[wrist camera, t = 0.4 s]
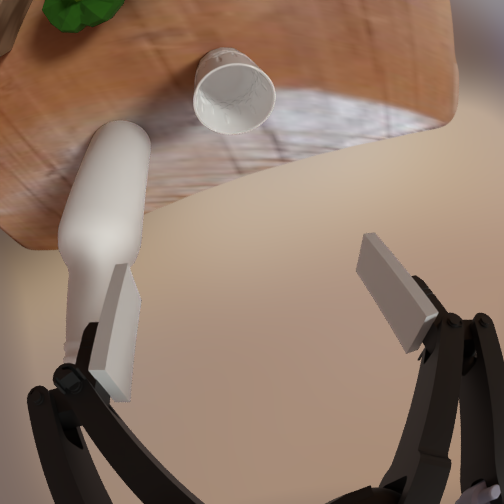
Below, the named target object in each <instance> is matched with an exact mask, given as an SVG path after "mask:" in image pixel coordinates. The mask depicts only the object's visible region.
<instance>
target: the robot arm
mask: <svg viewBox="0 0 504 504" xmlns="http://www.w3.org/2000/svg"><path fill="white" fill-rule="evenodd" d="M356 272H357V274H358V275H359V276H360V278H361V280H362V281H363V283H364V284H365V286H366V288H367V289H368V291H369V292H370V294H371V295H372V297H373V299H374V300H375V302H376V303H377V305H378V306H379V308H380V310H381V311H382V313H383V315H384V316H385V318H386V320H387V321H388V323H389V324H390V326H391V328H392V330H393V331H394V333H395V335H396V337H397V338H398V340H399V342H400V344H401V345H402V347H403V349H404V350H405V352H406V354H407V353H409V352H412V351H415V350H418V349H419V347H420V345H421V343H422V342H423V344H424V345H425V348H424V350H423V351H422V353H421V354H420V356H419V358H418V360H420V359H421V357H422V360H421V365H420V370H419V375H418V379H417V383H416V387H415V391H414V395H413V399H412V403H411V407H410V410H409V414H408V417H407V421H406V424H405V427H404V430H403V434H402V437H401V440H400V443H399V446H398V449H397V451H396V455H395V457H394V460H393V462H392V465H391V467H390V468H389V470H388V471H387V473H386V474H385V475H384V477H383V479H382V481H381V483H380V485H379V487H378V488H371V486H367V487H365V488H362V489H360V490H357V491H354V492H351V493H348V494H345V495H343V496H341V497H338V498H336V499H333V500H332V501H329V502H328V503H326V504H440V501H441V498H442V495H443V492H444V489H445V486H446V483H447V480H448V476H449V473H450V469H451V460H450V459H449V458H448V451H449V447H450V443H451V438H452V433H453V429H454V424H455V419H456V413H457V406H458V400H459V403H460V419H461V468H460V483H461V493H462V495H461V496H460V498H459V499H458V500H457V501H456V503H455V504H504V360H503V356H502V352H501V348H500V344H499V341H498V337H497V334H496V330H495V327H494V324H493V321H492V319H491V318H490V317H489V316H488V315H486V314H484V313H477V314H476V315H475V317H474V318H473V320H462V319H461V318H460V317H459V316H458V315H456V314H454V313H448V312H447V311H446V310H445V308H444V307H443V305H442V304H441V303H440V301H439V300H438V299H437V298H436V296H435V295H434V294H433V293H432V291H431V290H430V289H429V288H428V286H427V285H426V284H425V282H424V281H423V280H422V279H420V278H419V277H417V276H411V275H410V274H409V273H408V272H407V270H406V269H405V268H404V267H403V266H402V264H401V263H400V262H399V261H398V260H397V258H396V257H395V256H394V254H393V253H392V252H391V251H390V250H389V249H388V247H387V246H386V245H385V244H384V243H383V242H382V241H381V239H380V238H379V237H378V236H377V235H376V234H375V233H367V234H364V235H363V240H362V245H361V249H360V254H359V259H358V263H357V268H356ZM141 301H142V300H141V298H140V295H139V292H138V290H137V287H136V284H135V281H134V278H133V276H132V273H131V270H130V267H129V264H128V263H124V264H116V265H115V267H114V270H113V273H112V276H111V280H110V283H109V286H108V290H107V293H106V297H105V300H104V304H103V308H102V312H101V315H100V319H99V322H89V324H88V325H87V326H86V328H85V329H84V331H83V335H82V338H81V342H80V346H79V347H80V348H79V350H78V354H77V358H76V363H75V364H72V363H64V364H62V365H60V366H59V367H58V368H57V369H56V371H55V372H54V375H53V382H54V385H55V386H56V387H57V388H56V389H53V390H49V391H48V390H47V389H46V388H45V387H44V386H36V387H34V388H33V389H31V391H30V392H29V394H28V397H27V404H28V411H29V416H30V421H31V426H32V430H33V435H34V439H35V443H36V447H37V450H38V454H39V458H40V462H41V465H42V468H43V471H44V475H45V478H46V480H47V484H48V486H49V489H50V492H51V495H52V497H53V500H54V502H55V504H113V503H112V501H111V499H110V497H109V495H108V493H107V491H106V489H105V487H104V485H103V483H102V481H101V479H100V476H99V474H98V472H97V470H96V467H95V465H94V463H93V460H92V458H91V455H90V453H89V450H88V448H87V445H86V442H85V440H84V437H83V434H82V432H81V429H80V426H82V425H83V427H84V428H85V430H86V432H87V433H88V435H89V436H90V437H91V439H92V440H93V442H94V443H95V445H96V446H97V448H98V449H99V450H100V452H101V453H102V454H103V456H104V457H105V458H106V460H107V461H108V462H109V464H110V465H111V466H112V468H113V469H114V470H115V471H116V473H117V474H118V475H119V476H120V477H121V479H122V480H123V481H124V482H125V483H126V485H127V486H128V487H129V488H130V489H131V490H132V491H133V493H134V494H135V495H136V496H137V497H138V498H139V499H140V500H141V501H142V502H143V503H144V504H204V503H203V502H202V501H201V500H200V499H198V498H197V497H196V496H195V495H194V494H193V493H191V492H190V491H189V490H188V489H187V488H186V487H185V486H184V485H183V484H181V483H180V482H179V481H178V480H177V479H176V478H175V477H174V476H173V475H172V474H171V473H170V472H169V471H168V470H166V468H164V466H163V465H162V464H161V463H160V462H159V461H158V460H157V459H156V458H155V457H154V456H153V455H152V454H151V453H150V452H149V451H148V450H147V448H146V447H145V446H144V445H143V444H142V443H141V442H140V441H139V440H138V438H137V437H136V436H135V435H134V434H133V433H132V431H131V430H130V429H129V428H128V426H127V425H126V424H125V423H124V422H123V420H122V419H121V418H120V417H119V415H118V414H117V413H116V412H115V410H114V409H113V408H112V407H111V405H110V404H109V403H110V397H111V398H112V399H113V400H114V401H115V402H130V399H131V384H132V373H133V362H134V353H135V344H136V336H137V328H138V321H139V314H140V307H141ZM476 353H477V354H476Z"/></svg>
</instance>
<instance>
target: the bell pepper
mask: <svg viewBox="0 0 504 504" xmlns="http://www.w3.org/2000/svg"><path fill="white" fill-rule="evenodd" d="M124 1H125V0H45V2H44V5H43V8H42V11H43V12H44V14H45V15H46V17H47V18H48V20H49V21H50V23H51V24H52V25H53V26H55V27H56V28H57V29H59V30H60V31H61V32H68V33H78V32H79V31H81V30H83V29H84V28H85V27H86V26H91V27H94V26H96V25H98V24H101V23H103V22H105V21H108V20H109V19H111V18H113V16H114V15H115V14H116V12H117V11H118V10H119V9H120V7H121V6H122V5H123V4H124Z"/></svg>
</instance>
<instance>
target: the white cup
mask: <svg viewBox="0 0 504 504" xmlns="http://www.w3.org/2000/svg"><path fill="white" fill-rule="evenodd" d="M275 98H276V95H275V88H274V85H273V83H272V81H271V80H270V78H269V77H268V76H267V75H266V74H265V73H264V72H263V71H262V70H261V69H260V68H259V67H258V66H257V65H256V64H255V63H254V62H253V61H252V60H251V59H250V58H249V57H247V56H246V55H245V54H243V53H242V52H240V51H238V50H236V49H234V48H223V47H221V48H218V49H215V50H212V51H209V52H208V53H207V54H206V55H205V56H204V57H203V58H202V59H201V60H200V62H199V64H198V67H197V70H196V75H195V81H194V94H193V107H194V111H195V114H196V116H197V118H198V119H199V121H200V122H201V123H202V124H203V125H204V126H205V127H207V128H208V129H210V130H212V131H214V132H216V133H220V134H225V135H237V134H243V133H246V132H249V131H251V130H253V129H255V128H257V127H258V126H260V125H261V124H262V123H263V122H264V121H265V120H266V119H267V118H268V117H269V115H270V114H271V112H272V110H273V108H274V105H275Z"/></svg>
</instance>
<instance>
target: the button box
mask: <svg viewBox="0 0 504 504" xmlns="http://www.w3.org/2000/svg"><path fill="white" fill-rule="evenodd" d="M31 2H32V0H0V57H1V56H2V55H4V54H6V53H7V52H9V51H11V50H12V47H13V44H14V42H15V39H16V36H17V34H18V31H19V29H20V26H21V24H22V22H23V20H24V17H25V15H26V13H27V11H28V9H29V6H30V4H31Z"/></svg>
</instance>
